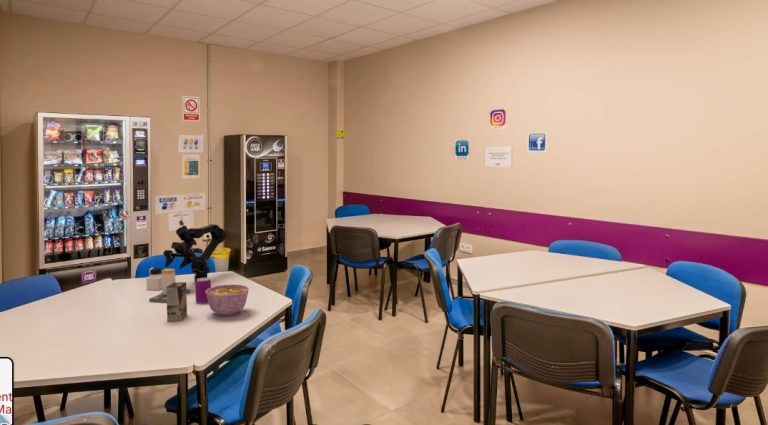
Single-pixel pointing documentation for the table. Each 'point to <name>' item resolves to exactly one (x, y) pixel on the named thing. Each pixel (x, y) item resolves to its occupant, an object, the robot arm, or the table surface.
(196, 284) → the beverage can
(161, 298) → the board
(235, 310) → the bowl of food
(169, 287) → the coffee box
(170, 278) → the fader knob
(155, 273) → the medicine bottle
